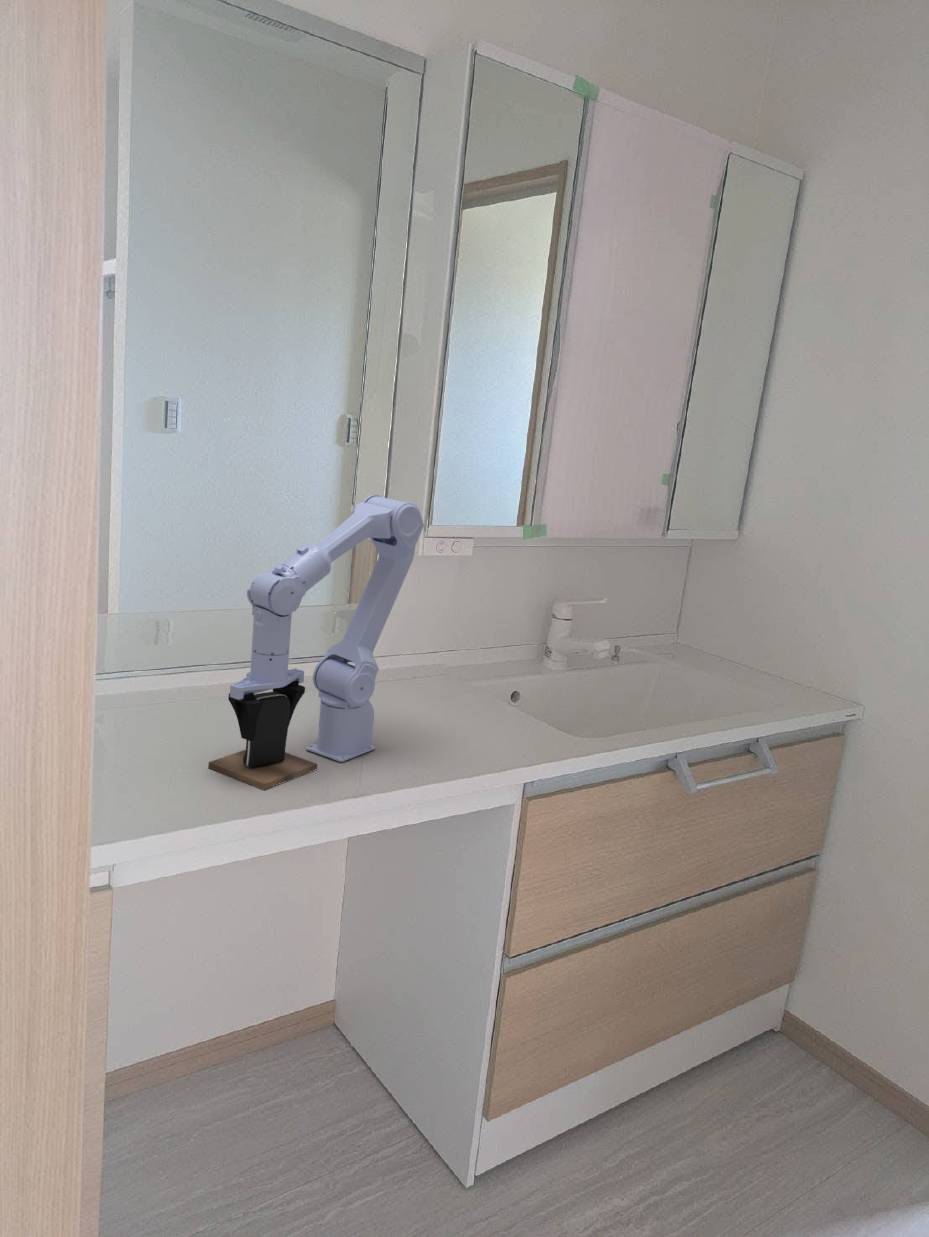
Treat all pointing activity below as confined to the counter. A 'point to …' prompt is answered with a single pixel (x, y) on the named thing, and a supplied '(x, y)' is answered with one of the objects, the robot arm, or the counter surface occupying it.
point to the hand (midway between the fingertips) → (265, 733)
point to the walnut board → (262, 769)
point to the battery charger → (269, 731)
